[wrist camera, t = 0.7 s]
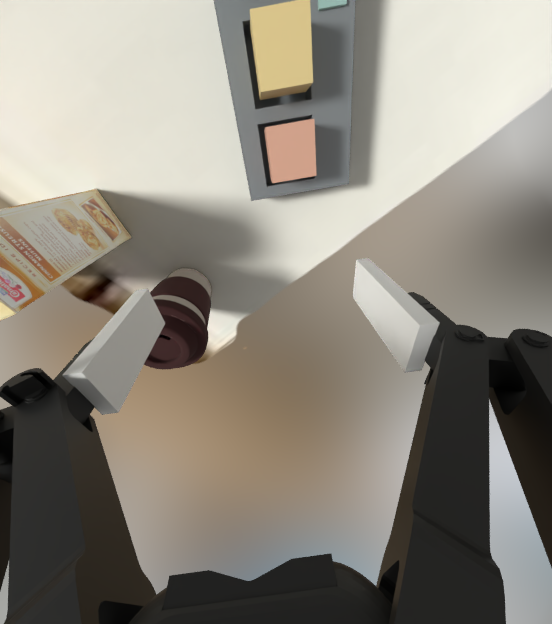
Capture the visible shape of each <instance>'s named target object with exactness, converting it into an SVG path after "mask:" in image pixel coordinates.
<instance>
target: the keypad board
mask: <svg viewBox="0 0 552 624" xmlns="http://www.w3.org/2000/svg"><path fill="white" fill-rule="evenodd" d="M290 1H295V0H214V4H215V10H216V15H217V20H218V26H219V31H220V36H221V42H222V47H223V52H224V58H225V63H226V68H227V74H228V79H229V84H230V89H231V95H232V100H233V105H234V111H235V116H236V121H237V127H238V132H239V137H240V143H241V148H242V153H243V159H244V164H245V169H246V175H247V180H248V185H249V190H250V196H251V201H253V200H259V199H264V198H270V197H276V196H282V195H288V194H293V193H299V192H305V191H311V190H316V189H322V188H328V187H334V186H340V185H345V184H349V165H350V137H351V109H352V81H353V52H354V24H355V0H310V8H311V36H312V64H313V83H312V85H311V86H310V87H309V88H308V90H307V91H306V92H302V93H297V94H291V95H286V96H280V97H275V98H269V99H264V100H260V96H259V89H258V82H257V74H256V67H255V60H254V52H253V45H252V38H251V30H250V9H253V8H258V7H264V6H269V5H274V4H279V3H285V2H290ZM309 119H314V120H315V148H316V176H312V177H306V178H300V179H295V180H289V181H283V182H277V183H272V181H271V177H270V170H269V162H268V155H267V148H266V140H265V133H264V130H265V127H270V126H275V125H281V124H287V123H292V122H298V121H303V120H309Z"/></svg>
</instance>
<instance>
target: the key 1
mask: <svg viewBox="0 0 552 624" xmlns="http://www.w3.org/2000/svg"><path fill="white" fill-rule="evenodd" d="M264 133H265V140H266V148H267V155H268V162H269V170H270V177H271V181H272V183H277V182H283V181H289V180H295V179H300V178H306V177H312V176H316V148H315V120H314V119H309V120H303V121H298V122H292V123H287V124H281V125H275V126H270V127H265V130H264Z"/></svg>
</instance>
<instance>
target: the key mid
mask: <svg viewBox="0 0 552 624" xmlns="http://www.w3.org/2000/svg"><path fill="white" fill-rule="evenodd" d="M250 30H251V38H252V45H253V52H254V60H255V67H256V74H257V82H258V89H259V96H260V100H264V99H269V98H275V97H280V96H286V95H291V94H297V93H302V92H306V91H307V90H308V88H309V87H310V86H311V85H312V83H313V64H312V36H311V8H310V0H295V1H290V2H285V3H279V4H274V5H269V6H264V7H258V8H253V9H250Z"/></svg>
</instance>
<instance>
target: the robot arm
mask: <svg viewBox="0 0 552 624" xmlns="http://www.w3.org/2000/svg"><path fill="white" fill-rule="evenodd" d="M353 298H354V300H355V301H356V302H357V304H358V305H359V307H360V308H361V310H362V311H363V313H364V314H365V316H366V317H367V318H368V320H369V321H370V323H371V324H372V326H373V327H374V329H375V330H376V332H377V333H378V334H379V336H380V337H381V339H382V340H383V342H384V343H385V345H386V346H387V348H388V349H389V350H390V352H391V353H392V354H393V356H394V358H395V359H396V361H397V362H398V363H399V365H400V366H401V368H402V369H403V371H404V372H412V371H420V370H422V368H423V365H424V362H425V361H426V363H427V364H428V365H429V366H430V367H431V368H430V371H429V373H428V376H427V378H426V380H425V383H424V384H426V386H425V390H424V395H423V399H422V404H421V408H420V412H419V416H418V421H417V425H416V429H415V434H414V437H413V442H412V446H411V450H410V455H409V459H408V463H407V468H406V472H405V476H404V480H403V484H402V489H401V493H400V497H399V502H398V506H397V510H396V515H395V519H394V523H393V527H392V531H391V535H390V539H389V542H388V544H387V547H386V550H385V553H384V557H383V561H382V565H381V569H380V573H379V577H378V581H377V585H376V586H375V585H374V584H373V583H372V582H371V581H369V580H368V579H367V578H366V577H364V576H363V575H362V574H360V573H359V572H357V571H356V570H354V569H352V568H350V567H348V566H346V565H344V564H341V563H337V562H333V561H332V555H331V554H324V555H317V556H310V557H303V558H295V559H291V560H289V561H287V562H285V563H284V564H282V565H280V566H278V567H276V568H274V569H273V570H271V571H269V572H267V573H265V574H264V575H262V576H260V577H258V578H256V579H254V580H252V581H245V580H241V579H238V578H234V577H231V576H227V575H224V574H220V573H216V572H213V571H209V570H208V571H202V572H194V573H186V574H179V575H172V576H169V581H168V586H167V588H165V589H164V590H162V591H161V592H160V593H158V594H157V595H156V593H155V590H154V588H153V586H152V584H151V582H150V581H149V580H148V578H147V577H146V576H145V574H144V573H143V571H142V570H141V567H140V565H139V562H138V559H137V556H136V553H135V549H134V546H133V543H132V540H131V536H130V533H129V530H128V527H127V524H126V520H125V517H124V514H123V511H122V507H121V504H120V501H119V498H118V495H117V492H116V488H115V485H114V482H113V478H112V475H111V472H110V469H109V466H108V462H107V459H106V456H105V453H104V450H103V446H102V443H101V440H100V437H99V433H98V430H97V427H96V424H95V421H94V419H93V418H92V417H91V415H90V413H91V412H92V410H93V409H94V407H95V408H96V409H97V410H98V411H99V412H100V413H101V414H102V415H103V414H111V413H118V412H119V411H120V409H121V407H122V405H123V403H124V401H125V399H126V397H127V395H128V393H129V391H130V390H131V387H132V386H133V384H134V382H135V380H136V378H137V376H138V374H139V372H140V371H141V369H142V367H143V365H144V363H145V361H146V359H147V357H148V355H149V353H150V352H151V350H152V348H153V346H154V344H155V342H156V340H157V338H158V336H159V334H160V333H161V331H162V329H163V327H164V325H165V322H164V320H163V318H162V316H161V314H160V312H159V310H158V308H157V306H156V304H155V302H154V300H153V298H152V296H151V294H150V292H149V290H148V289H143V290H136V291H135V292H134V293H133V294H132V295H131V297H130V298H129V299H128V300H127V301H126V302H125V303H124V305H123V306H122V307H121V308H120V309H119V310H118V312H117V313H116V314H115V315H114V316H113V317H112V318H111V320H110V321H109V322H108V323H107V324H106V325H105V327H104V328H103V329H102V330H101V331H100V332H99V333H98V335H97V336H96V337H95V338H93V339H92V340H91V341H89V342H88V343H86V344H85V345H84V346H83V347H82V348H81V350H80V351H79V352H78V354H76V355H75V356H74V358H73V360H71V361H70V362H69V363H68V364H67V366H66V367H65V368H64V369H63V370H62V371H61V372H60V373H59V374H58V376H57V377H56V378H55V379H54V380H52V379H51V378H50V377H49V376H48V375H47V374H46V373H45V372H44V371H43V370H41V369H39V368H34V369H30V370H27V371H24V372H22V373H20V374H18V375H16V376H14V377H12V378H11V379H10V380H8V381H7V382H5V383H4V384H3V385H2V386H1V387H0V397H2V398H3V399H4V400H6V401H7V402H8V403H10V404H11V405H12V406H10V407H7V408H5V409H2V410H0V590H1V586H2V583H3V579H4V576H5V572H6V568H7V565H8V561H9V588H8V612H7V618H6V621H5V623H4V624H506V618H505V595H504V586H503V579H502V576H501V573H500V569H499V568H498V566H497V565H496V563H495V562H494V561H493V559H492V556H491V553H490V530H489V529H490V522H489V521H490V512H489V399H490V402H491V405H492V407H493V410H494V413H495V416H496V418H497V421H498V423H499V426H500V429H501V432H502V434H503V437H504V440H505V442H506V445H507V448H508V451H509V453H510V456H511V459H512V462H513V464H514V467H515V470H516V472H517V475H518V478H519V481H520V483H521V486H522V489H523V491H524V494H525V497H526V499H527V502H528V505H529V508H530V510H531V513H532V515H533V518H534V521H535V524H536V527H537V529H538V532H539V535H540V537H541V540H542V543H543V545H544V548H545V551H546V554H547V556H548V559H549V562H550V564H551V567H552V337H551V336H549V335H547V334H545V333H541V332H539V331H536V330H530V329H517V330H513V332H512V333H511V334H510V336H509V337H508V338H495V337H487V336H486V335H485V334H484V333H483V332H481V331H479V330H477V329H476V328H472V327H470V326H465V325H456V324H455V323H454V322H453V321H451V320H450V319H449V318H448V317H447V316H446V315H444V314H443V313H442V312H441V311H440V310H438V309H436V307H435V306H434V305H432V304H430V302H429V301H428V300H427V299H425V298H424V297H423V296H421V295H418V294H416V293H414V292H411V293H407V292H405V291H404V290H403V289H402V288H401V287H400V286H399V285H398V284H397V283H395V282H394V281H393V280H392V279H391V278H390V277H389V276H388V275H387V274H386V273H385V272H383V271H382V270H381V269H380V268H379V267H378V266H377V265H376V264H375V263H373V262H372V261H371V260H370V259H369V258H364V259H357V260H356V270H355V279H354V290H353Z"/></svg>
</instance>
